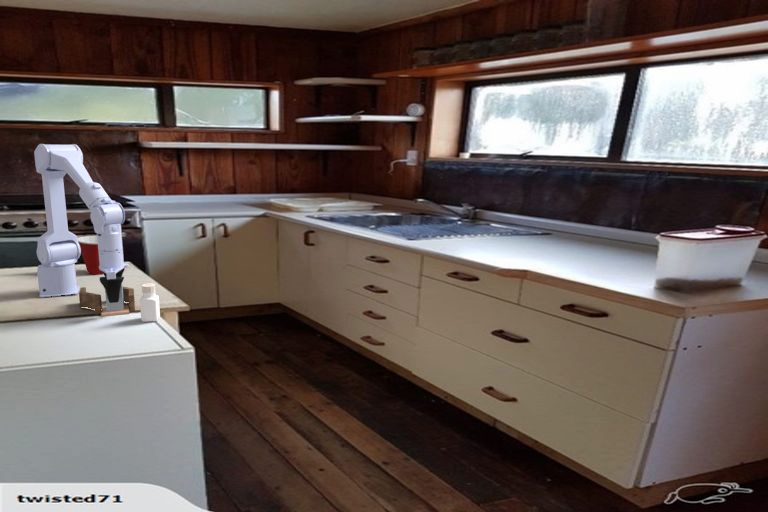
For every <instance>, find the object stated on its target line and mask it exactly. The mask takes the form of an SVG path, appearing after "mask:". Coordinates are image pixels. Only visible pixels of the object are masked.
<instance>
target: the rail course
mask: <svg viewBox="0 0 768 512" xmlns="http://www.w3.org/2000/svg"><path fill="white" fill-rule="evenodd" d="M78 297H79V307H88V308H91V309H95V311H94V313H95V315H101V312H102V311H101V309H102V307H103V303H102V295H101V294H98V293H93V292H88V291H87V289H86V287H85V286H84V287H83V286H82V287H80V289H79V292H78ZM123 299H124V301H125V302H129V304H128V305H129V312H135V311H136V309H135V308H136V303H135V302H136V301H135V289H134V288H133V287H128V286H123Z"/></svg>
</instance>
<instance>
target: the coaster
mask: <svg viewBox="0 0 768 512" xmlns="http://www.w3.org/2000/svg"><path fill="white" fill-rule="evenodd" d="M128 314H130V305H129V304H124V310H122V311H111V312H107V306H102V311H101V314H100V316H101V317H108V316H109V317H110V316H119V315H128Z"/></svg>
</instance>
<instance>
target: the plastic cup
mask: <svg viewBox="0 0 768 512" xmlns="http://www.w3.org/2000/svg"><path fill="white" fill-rule="evenodd" d="M77 238H78V243H79V245H80V248H81V254H82V258H83V261H84V265H85V269H86V272H87V274H88V275H91V276H92V275H93V276H98V275H104V274H103V273H102V271H101V270H100V269H99V265H100V263H99V251H98V240H97V235H87V236H86V235H85V236H81V237H77Z"/></svg>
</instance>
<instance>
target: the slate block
mask: <svg viewBox="0 0 768 512" xmlns="http://www.w3.org/2000/svg"><path fill="white" fill-rule="evenodd" d="M123 287H124V286H123V283H122V284H121V287H120V295H119V301H118V302H116V303H110V302H109V300H108V297H107V294H106V291H105V290H104V291H105V303H106V306H105V307H107V312H111V311H122V310H124V305H125V303H124V299H123Z"/></svg>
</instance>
